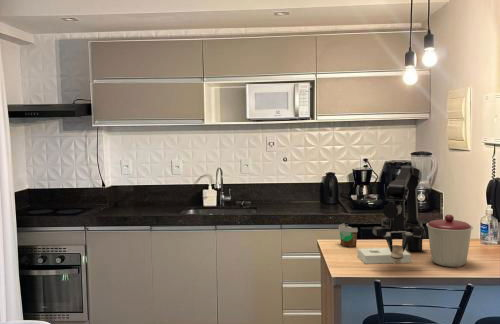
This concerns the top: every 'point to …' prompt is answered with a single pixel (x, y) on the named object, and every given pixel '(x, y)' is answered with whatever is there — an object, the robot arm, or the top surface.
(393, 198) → the robot arm
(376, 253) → the board
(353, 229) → the food container
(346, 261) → the top surface
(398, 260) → the peg
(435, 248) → the canister
